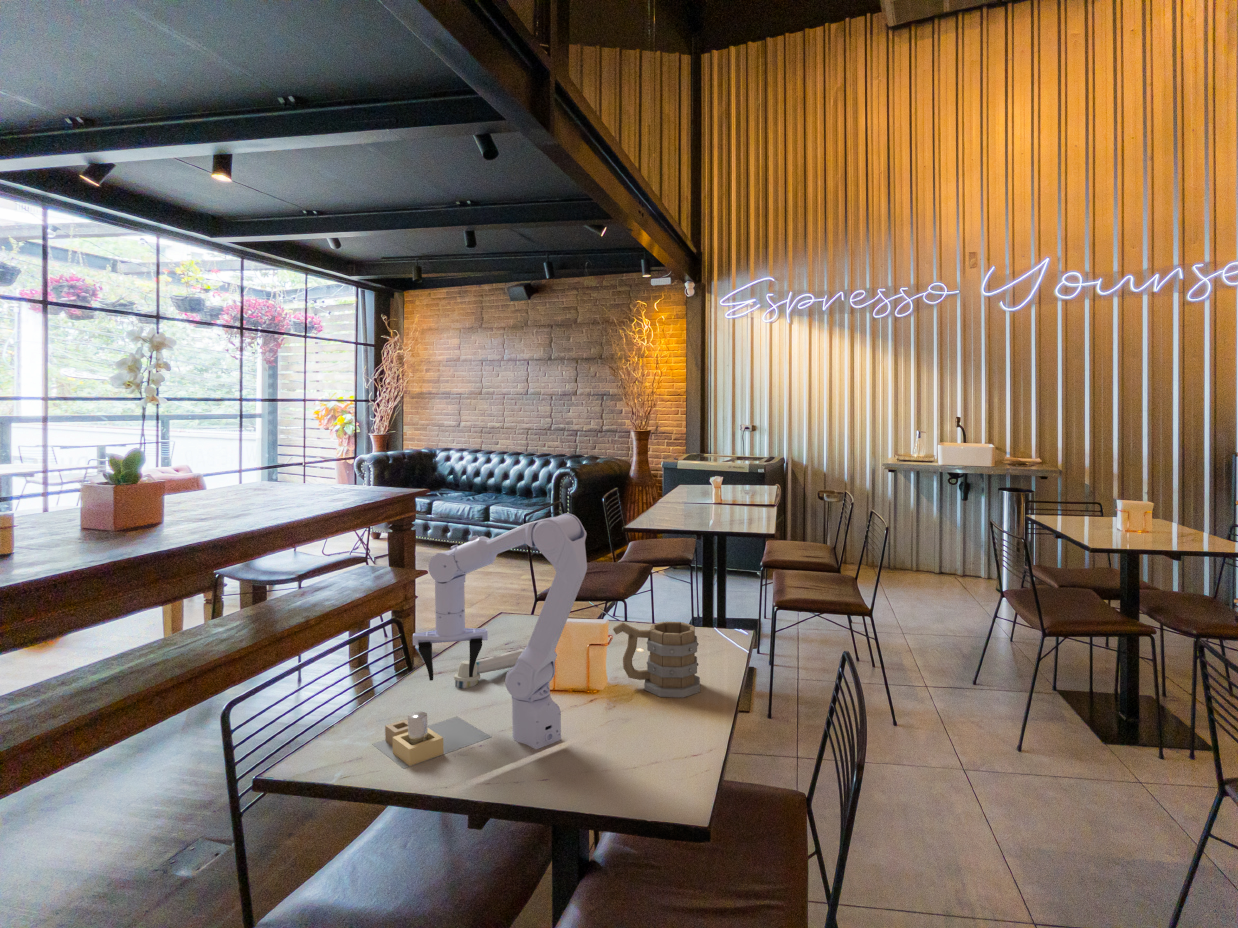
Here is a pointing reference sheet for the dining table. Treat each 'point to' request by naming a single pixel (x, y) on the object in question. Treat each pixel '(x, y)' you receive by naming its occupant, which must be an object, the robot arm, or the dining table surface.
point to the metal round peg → (417, 728)
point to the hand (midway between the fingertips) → (451, 677)
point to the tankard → (665, 658)
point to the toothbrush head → (485, 667)
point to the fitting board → (428, 741)
